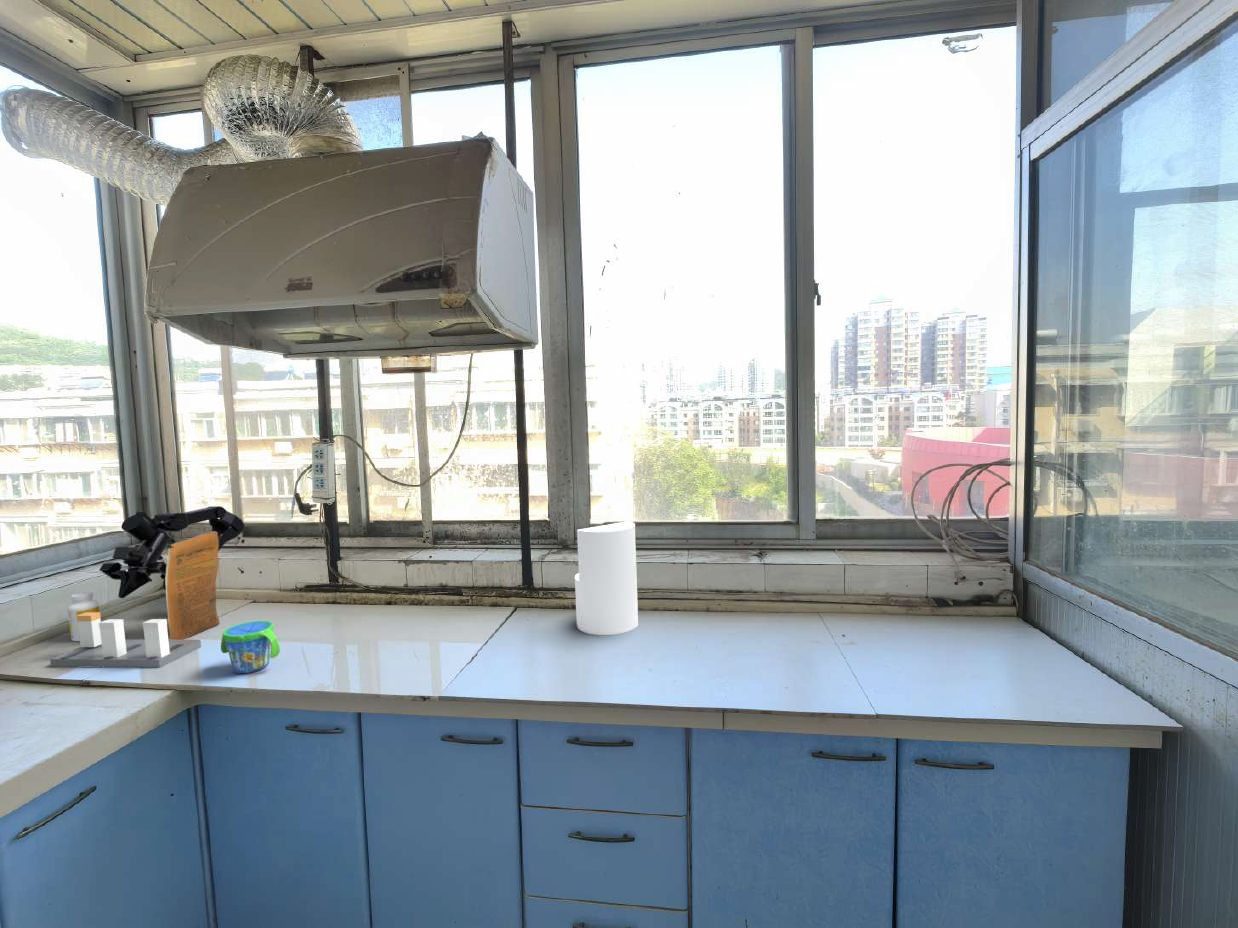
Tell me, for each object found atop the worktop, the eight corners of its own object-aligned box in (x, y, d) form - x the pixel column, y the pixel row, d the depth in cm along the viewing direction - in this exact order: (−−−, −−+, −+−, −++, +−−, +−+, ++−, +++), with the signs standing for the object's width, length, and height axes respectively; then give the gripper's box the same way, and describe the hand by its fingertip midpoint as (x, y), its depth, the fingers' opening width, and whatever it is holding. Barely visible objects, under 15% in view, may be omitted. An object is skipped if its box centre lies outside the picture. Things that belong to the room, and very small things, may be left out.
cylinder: (650, 624, 165) (647, 525, 163) (598, 640, 156) (594, 534, 153) (615, 609, 180) (612, 517, 177) (565, 622, 170) (561, 525, 167)
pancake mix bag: (235, 620, 182) (226, 529, 180) (179, 644, 163) (168, 544, 161) (216, 619, 183) (207, 529, 181) (158, 643, 165) (147, 543, 162)
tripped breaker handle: (89, 643, 160) (86, 612, 159) (103, 643, 159) (100, 612, 158) (80, 647, 157) (76, 615, 156) (94, 647, 157) (90, 615, 156)
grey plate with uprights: (100, 646, 164) (95, 607, 163) (201, 646, 161) (197, 607, 160) (50, 666, 151) (45, 624, 150) (159, 667, 148) (155, 624, 147)
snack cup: (294, 663, 148) (290, 623, 147) (254, 681, 138) (250, 639, 137) (249, 655, 154) (246, 617, 153) (208, 672, 144) (204, 632, 143)
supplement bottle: (108, 633, 174) (103, 590, 173) (86, 642, 168) (80, 597, 166) (87, 633, 175) (82, 590, 174) (64, 642, 168) (59, 597, 167)
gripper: (101, 535, 171) (67, 583, 161) (161, 534, 170) (130, 583, 160) (129, 555, 180) (98, 602, 170) (186, 554, 178) (158, 602, 168)
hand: (120, 597), depth 167 cm, fingers closed
